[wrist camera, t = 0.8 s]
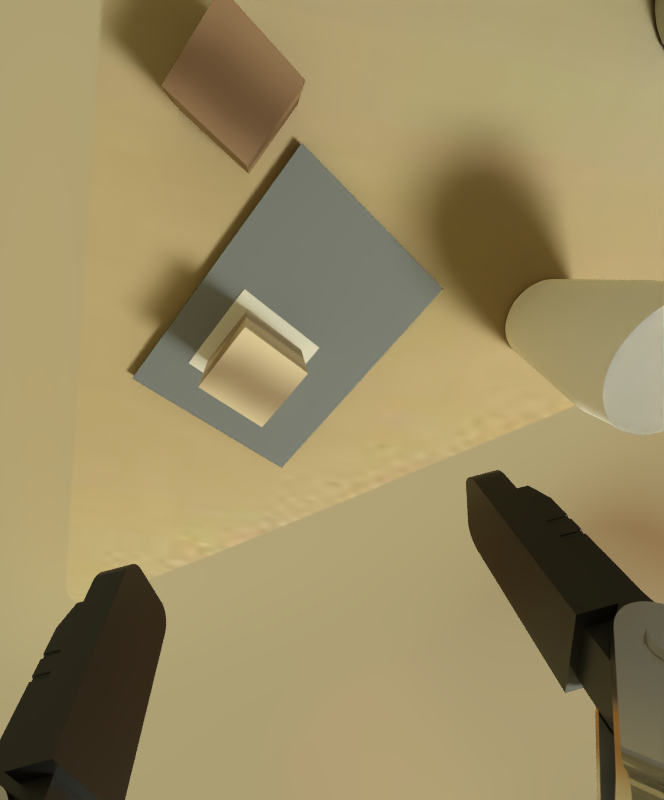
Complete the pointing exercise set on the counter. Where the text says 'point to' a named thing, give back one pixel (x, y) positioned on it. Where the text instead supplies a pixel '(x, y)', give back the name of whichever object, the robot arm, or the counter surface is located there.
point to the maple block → (254, 369)
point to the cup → (597, 346)
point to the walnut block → (234, 83)
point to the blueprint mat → (295, 305)
